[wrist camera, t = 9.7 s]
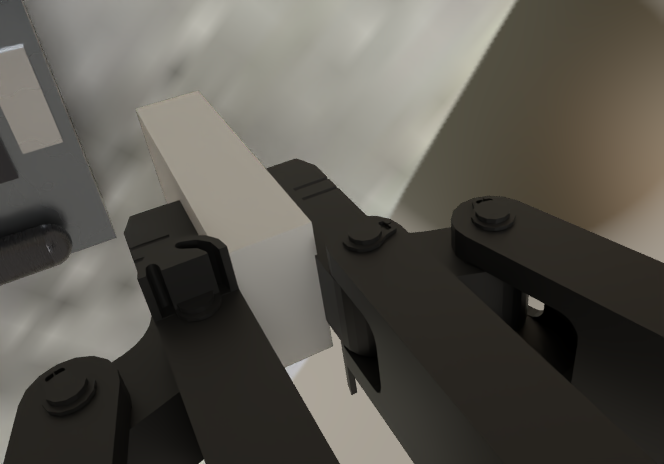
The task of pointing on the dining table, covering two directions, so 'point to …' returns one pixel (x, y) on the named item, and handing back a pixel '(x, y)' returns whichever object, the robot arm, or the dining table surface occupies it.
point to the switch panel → (40, 161)
